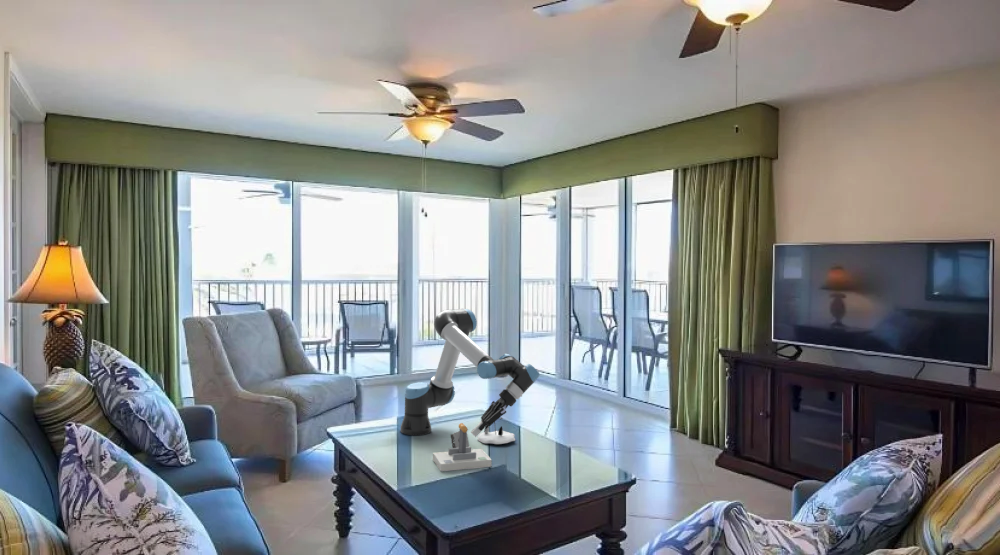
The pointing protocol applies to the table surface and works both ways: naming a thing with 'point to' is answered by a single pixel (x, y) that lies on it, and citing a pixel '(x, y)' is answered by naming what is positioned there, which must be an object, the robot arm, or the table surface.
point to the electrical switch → (457, 440)
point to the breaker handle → (462, 438)
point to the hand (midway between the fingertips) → (473, 434)
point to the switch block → (461, 459)
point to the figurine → (496, 436)
